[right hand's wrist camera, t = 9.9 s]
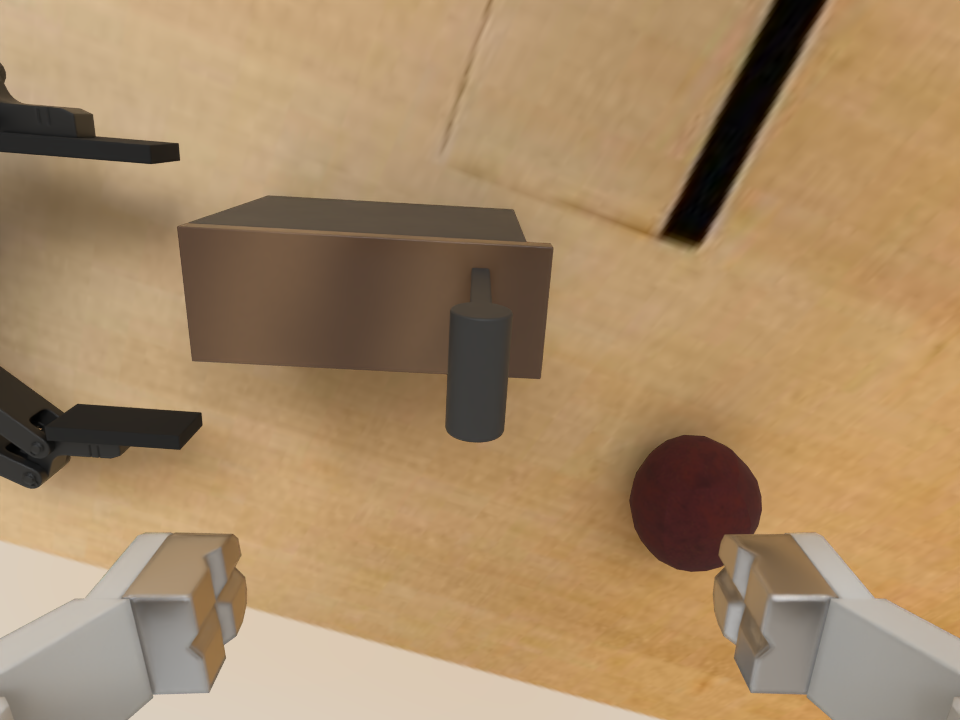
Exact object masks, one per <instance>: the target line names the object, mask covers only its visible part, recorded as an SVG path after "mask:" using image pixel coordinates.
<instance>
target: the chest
mask: <svg viewBox="0 0 960 720" xmlns="http://www.w3.org/2000/svg"><path fill="white" fill-rule="evenodd" d="M189 223H194V224H212V225H230V226H248V227H266V228H284V229H302V230H319V231H337V232H355V233H373V234H391V235H409V236H426V237H444V238H462V239H480V240H498V241H516V242H526V240H525V237H524V235H523V232H522V230H521V227H520V225H519V222H518V220H517V217H516V215H515V212H514V210H512V209H494V208H477V207H459V206H442V205H424V204H407V203H389V202H372V201H354V200H337V199H319V198H302V197H284V196H265V197H263V198H260V199H257V200H254V201H251V202H248V203H245V204H242V205H239V206H236V207H233V208H230V209H227V210H224V211H221V212H218V213H216V214H213V215H210V216H207V217H204V218H201V219H198V220H195V221H192V222H189Z"/></svg>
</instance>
